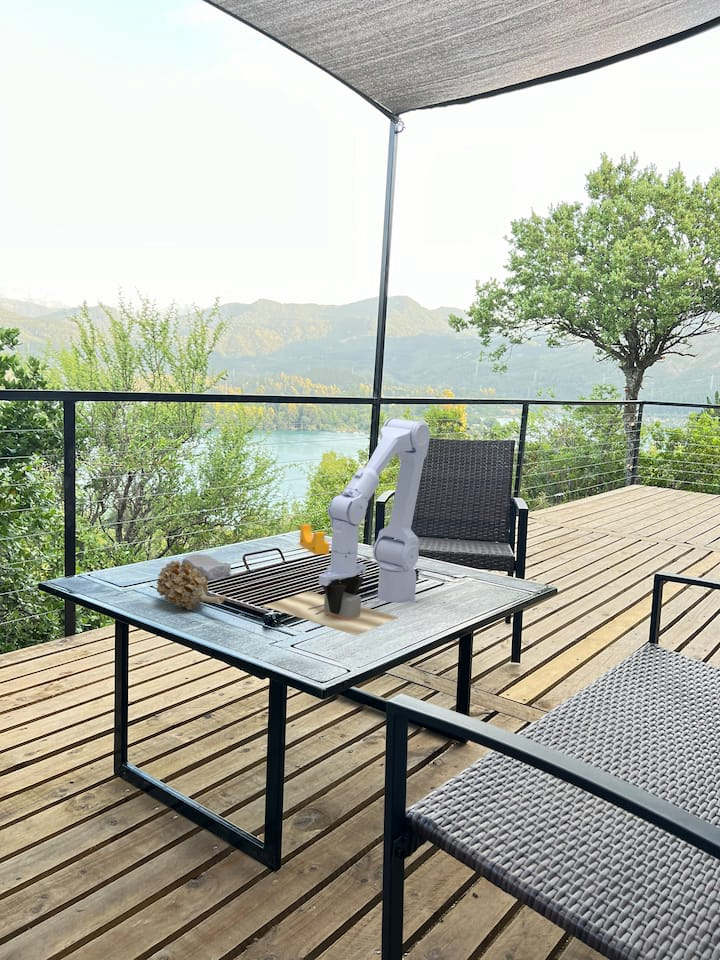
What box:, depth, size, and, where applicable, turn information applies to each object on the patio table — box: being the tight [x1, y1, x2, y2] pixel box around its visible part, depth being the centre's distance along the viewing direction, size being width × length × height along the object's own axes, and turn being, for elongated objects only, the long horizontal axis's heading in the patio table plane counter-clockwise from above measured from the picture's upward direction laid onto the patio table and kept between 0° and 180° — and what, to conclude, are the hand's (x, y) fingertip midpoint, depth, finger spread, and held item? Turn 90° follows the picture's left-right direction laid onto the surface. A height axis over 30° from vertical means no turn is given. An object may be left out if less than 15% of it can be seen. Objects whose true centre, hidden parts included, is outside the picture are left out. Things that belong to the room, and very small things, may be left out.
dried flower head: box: [156, 560, 226, 611], centre depth 174 cm, size 22×10×10 cm, turn 56°
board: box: [262, 590, 399, 636], centre depth 175 cm, size 16×26×2 cm, turn 54°
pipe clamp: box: [299, 523, 330, 555], centre depth 235 cm, size 12×4×6 cm, turn 27°
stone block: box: [181, 554, 232, 581], centre depth 204 cm, size 12×5×10 cm
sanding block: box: [324, 592, 362, 621], centre depth 173 cm, size 4×7×4 cm, turn 54°
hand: (340, 610), depth 173 cm, fingers closed on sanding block, 4 cm apart
